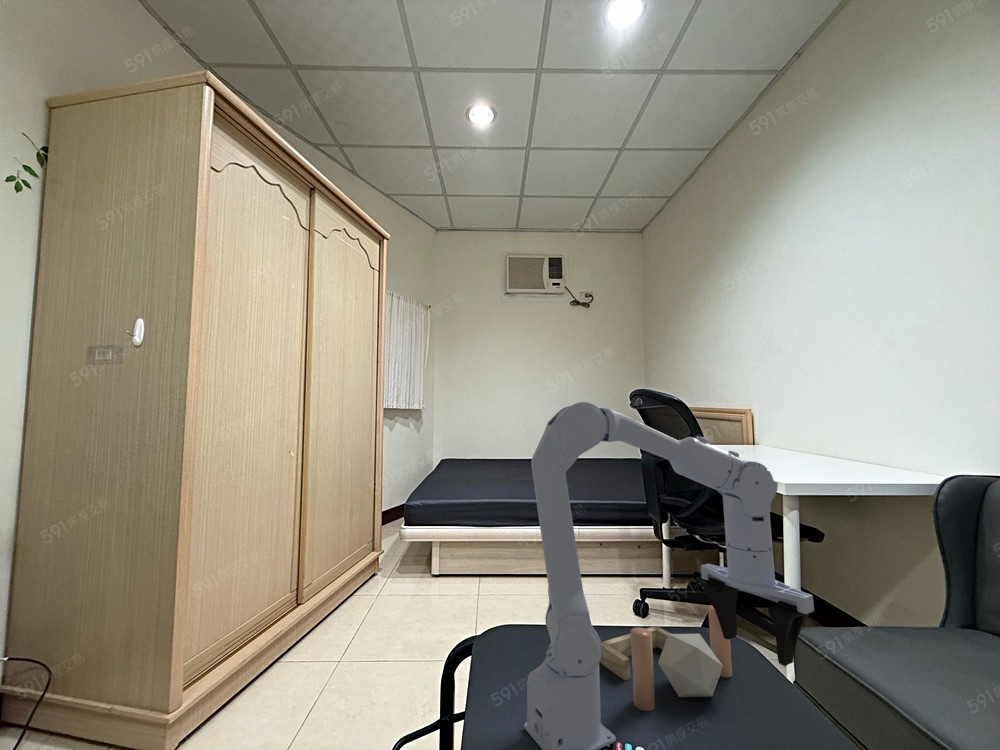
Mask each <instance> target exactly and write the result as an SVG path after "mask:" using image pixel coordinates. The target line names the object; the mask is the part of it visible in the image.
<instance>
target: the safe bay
mask: <svg viewBox="0 0 1000 750" xmlns="http://www.w3.org/2000/svg"><path fill="white" fill-rule="evenodd" d="M646 629H647V630H649V631H651V633H652V650H653V649H655V648H659V649H661V650H662V651H663V648H664V645H665V642H666V639H667V637H668V634H672V633H671V632H669V631H667V630H665V629H663V628H661V627H659V626H657V625H654V626H651V627H648V628H646ZM601 644H602V656H601V659H600V662H599V664H601V665H603V666H604V667H605V668H607V669H608V670H609V671H611V672H612V673H614V674H615V675H617V677H619V678H621V679H622V680H623V681H627V680H631V660H630V658H629V657H632V646H631V632H630V633H628V634H625V635H621V636H618V637H615V638H611V639H608V640H604V641H601Z"/></svg>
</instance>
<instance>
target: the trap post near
mask: <svg viewBox="0 0 1000 750" xmlns="http://www.w3.org/2000/svg"><path fill="white" fill-rule="evenodd" d="M630 633H631V646H632V655H631V664H632V665H631V669H632V670H631V672H632V693H633V705H634V706H635V707H636V708H637V709H639V710H640V711H645V712H651V711H652V712H653V711H654V710H655V709H656V698H655V678H654V677H655V675H654V654H653V653H654V652H653V651H654V650H653V649H652V633H651V631H649V630H647V628H643V627H633V628H632V629H630Z"/></svg>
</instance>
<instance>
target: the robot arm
mask: <svg viewBox="0 0 1000 750" xmlns="http://www.w3.org/2000/svg"><path fill="white" fill-rule="evenodd" d="M544 429H545V430H544V432H543V434H542V436H541V438H540V441H539V442H538V444H537V447H536V448H535V451H534V453H533V455H532V458H531V462H530V463H531V464H530V465H531V470H532V471H531V473H532V479H533V480H532V481H533V484H534V487H533V488H534V493H535V501H536V507H537V515H538V521H539V522H538V523H539V529H540V536H541V537H540V538H541V541H542V543H541V544H542V550H543V557H544V564H545V572H546V577H547V578H546V579H547V588H548V589H547V595H548V605H547V606H548V607H547V609H546V613H545V617H544V618H545V626H546V628H547V632H548V634H549V638H550V644H549V645H548V647H547V651H546V652H545V659H544V661H543V662H542V663H541V664H540V665H539V666H538V667H536V668H535V669H533V670H531V671H530V672H529V674H528V677H527V681H526V683H527V684H526V711H527V713H526V715H527V716H526V722H524V725H523V726H524V729H525V731H526V732H527V733H528V734H529V735H530V736H531V738H532V739H533V740H534V741H535V743H537V745H538V746H539V747H540V748H541V750H600V749H601V748H604V747H607V746H609V745H611V744H613V743H615V742H616V741H617V739H616V736H615V735H614V734H613V733H612V732H611V731H610V730H609V729H608V728H607V727H606V726H604V724H602V720H601V719H602V718H601V685H600V684H601V683H600V680H601V679H600V659H601V656H602V644H601V642H602V640H601V638H600V636H599V635H598V633H597V631H596V630H595V629H594V626H593V624H592V622H591V616H590V611H589V607H588V603H587V599H586V596H585V593H584V589H583V581H582V574H581V567H580V562H579V554H578V549H577V541H576V535H575V530H574V529H575V527H574V522H573V515H572V509H571V508H572V507H571V502H570V495H569V489H568V483H567V475H566V474H567V471H569V469H570V468H571V467H572V465H573V464H575V462H576V461H577V459H579V457H580V456H582V454H583V455H584V453H587V452H588V451H590V450H591V449H592V448H595V447H596V446H598V445H599V444H600V443H602V442H605V443H613V442H622V443H625V444H627V445H630V446H631V447H634V448H638V449H640V450H643V451H644V452H645V451H646V452H648V453H650V454H653V455H655V456H658V457H660V458H663V459H665V460H668V461H669V463H670V465H671V466H672V469H673V471H674V472H675V473H676V474H678V475H680V476H683V477H685V478H688V479H690V480H692V481H694V482H697V483H700V484H701V485H703V486H706V487H708V488H711V489H713V490H716V491H717V492H718V493H719V494H720V495H722V502H723V503H722V504H723V517H724V518H723V519H724V520H723V521H724V531H725V532H724V533H725V534H724V535H725V548H726V562H727V567H725V566H719V565H715V564H711V563H706V564H701V565H700V575H701V579H702V580H706V581H707V583H706V584H703V586H702V587H703V592H704V593H705V595H706V596H707V598H708V599H709V601H710V603H711V606H713V608H714V610H715V612H716V615H717V618H718V620H719V623H720V627H721V630H722V633H723V636H724V638H725V639H727V640H729V639H730V640H732V639H734V638H736V637H738V636H737V635H738V621H737V619H738V618H737V600H738V596H739V595H738V593H739V590H740V591H743V592H745V593H749V594H752V595H754V596H758V597H761V598H763V599H766V600H768V601H772V602H775V603H777V605H773V606H771V607H768V609H767V610H768V614H769V617H770V619H771V623H772V627H773V630H774V635H775V642H776V656H777V659H778V663H779V664H780V665H782V666H785V667H786V666H789V665H790V664H792V663H794V660H795V659H794V658H795V652H796V646H797V643H798V642H797V641H798V638H799V635H800V633H801V631H802V628H803V626H804V624H805V623H806V621H807V619H808V617H809V615H810V613H812V612H815V606H814V605H815V604H814V597H813V594H810V593H807V592H804V591H802V590H799V589H797V588H794V587H792V586H791V585H788V584H785V583H783V582H781V581H779V580H777V579H776V573H775V563H774V560H775V559H774V551H773V547H774V546H773V537H772V526H771V515H770V514H771V513H772V507H771V506H772V505H771V504H772V501H773V499H774V497H776V494H777V492H778V486H779V484H778V482H777V481H775V480H774V477H773V474H772V473H771V471H770V470H768V467H766V466H765V465H764V464H763V463H760V462H758V461H751V460H742V459H741V458H740V454H739V453H738V452H737V451H734V450H728V451H726V450H724V449H721V448H718V447H716V446H715V445H713V444H709V441H710V440H709V439H708V438H706V437H704V436H700V435H699V436H696V437H692V436H687V437H685V438H683V439H679V440H677V439H676V438H673V437H672V436H669V435H668V434H665V433H664V432H661V431H659V430H656V429H654V428H652V427H650V426H648V425H646V424H643V422H642V423H641V422H639V421H638V420H635V419H633V418H631V417H629V416H628V415H627V416H626V415H624V414H622V413H620V412H617V411H615V410H612V409H610V408H605V407H598V406H597V405H595V404H592V403H590V402H584V401H581V402H577V403H574V404H571V405H568V406H565V407H563V408H561V409H560V410H558V411H557V413H555V415H554V416H553V417H551V419H549V420H548V422H547V424H546V427H545V428H544Z"/></svg>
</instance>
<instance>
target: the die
mask: <svg viewBox="0 0 1000 750" xmlns="http://www.w3.org/2000/svg"><path fill="white" fill-rule="evenodd" d="M657 663H658V664H659V667H661V668H660V669H661V670H662V672H663V673H664V675H665V676H666V678H667V679H668V681H669V683H670V684H671V686H672V688H673V689H674V692H675V693H676V694H677V697H679V698H709V697H713V695H714V693H715V689H716V687H717V684H718V682H719V679H720V674H721V671H722V668H723V665H722V664H721V663H720V661H719V660H718V658H717V657H716V656H715V654H714V653H713V652H712V650H711V647H710V646H709V645H708V643H707V642H706V640H705V639H704V638H703V636H702V635H701V633H671V634H668V637H667V639H666V642H665V645H664V648H663V650H662V651H661V654H660V656H659V660H658V662H657Z"/></svg>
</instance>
